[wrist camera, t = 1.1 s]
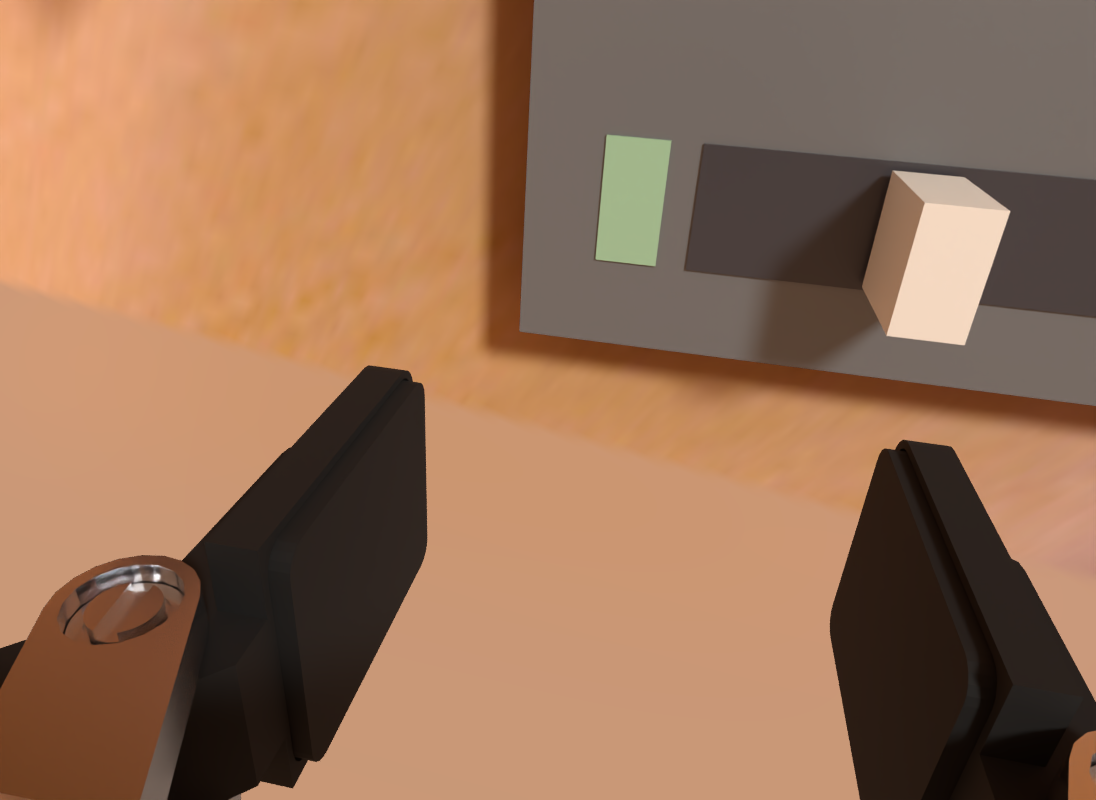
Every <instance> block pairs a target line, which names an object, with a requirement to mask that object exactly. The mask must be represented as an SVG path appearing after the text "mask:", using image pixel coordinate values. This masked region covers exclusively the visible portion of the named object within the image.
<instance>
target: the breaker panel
mask: <svg viewBox="0 0 1096 800" xmlns="http://www.w3.org/2000/svg"><path fill="white" fill-rule="evenodd" d="M892 171H904V172H915V173H925V174H936V175H947V176H957V177H965V178H966V179H968V180H969V181H970V182H972V183H973V184H974V185H976V186H977V187H978V188H980V189H981V190H982V191H984V192H985V193H987V194H988V195H989V196H991V197H992V198H993V199H995V200H996V201H997V202H999V203H1000V204H1001V205H1003V206H1004V207H1005V208H1007V209H1008V210H1010V214H1009V217H1008V220H1007V223H1006V226H1005V229H1004V231H1003V234H1002V237H1001V240H1000V243H999V246H998V249H997V252H996V255H995V258H994V261H993V264H992V267H991V270H990V272H989V275H988V278H987V281H986V284H985V287H984V290H983V293H982V296H981V299H980V302H979V305H978V308H977V310H976V313H975V316H974V319H973V322H972V325H971V328H970V331H969V334H968V337H967V340H966V343H965V345H957V344H949V343H941V342H933V341H925V340H916V339H908V338H900V337H892V336H886V334H885V332H884V330H883V328H882V326H881V324H880V322H879V320H878V318H877V316H876V314H875V312H874V310H873V308H872V306H871V304H870V302H869V300H868V298H867V296H866V294H865V292H864V290H863V288H862V285H863V281H864V277H865V273H866V269H867V266H868V262H869V258H870V254H871V250H872V247H873V243H874V239H875V235H876V231H877V228H878V224H879V220H880V216H881V212H882V209H883V205H884V201H885V197H886V193H887V190H888V186H889V182H890V178H891V174H892ZM519 332H527V333H535V334H542V335H550V336H558V337H566V338H573V339H581V340H589V341H597V342H604V343H612V344H620V345H628V346H635V347H643V348H651V349H658V350H666V351H674V352H682V353H689V354H697V355H705V356H713V357H720V358H728V359H736V360H744V361H751V362H759V363H767V364H775V365H782V366H790V367H798V368H806V369H813V370H821V371H829V372H836V373H844V374H852V375H860V376H867V377H875V378H883V379H891V380H898V381H906V382H914V383H922V384H929V385H937V386H945V387H953V388H960V389H968V390H976V391H984V392H991V393H999V394H1007V395H1014V396H1022V397H1030V398H1038V399H1045V400H1053V401H1061V402H1069V403H1076V404H1084V405H1092V406H1096V0H534V13H533V36H532V59H531V81H530V104H529V126H528V149H527V172H526V194H525V217H524V239H523V262H522V285H521V307H520V330H519Z"/></svg>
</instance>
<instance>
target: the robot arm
mask: <svg viewBox="0 0 1096 800" xmlns="http://www.w3.org/2000/svg"><path fill="white" fill-rule="evenodd" d="M426 546H427V499H426V447H425V395H424V388H423V385H422V384H421V383H417V382H413V380H412V376H411V374H410V372H409V371H405V370H398V369H391V368H384V367H377V366H369V365H368V366H367V367H365V368H364V369H363V370H362V371H361V372H360V373H359V375H358V376H357V377H356V378H355V379H354V380H353V381H352V382H351V383H350V384H349V386H347V388H346V389H345V390H344V391H343V392H342V393H341V394H340V395H339V396H338V397H337V398H336V399H335V401H334V402H333V403H332V404H331V405H330V406H329V407H328V408H327V409H326V410H325V412H323V413H322V415H321V416H320V417H319V418H318V419H317V420H316V421H315V422H314V423H313V424H312V425H311V426H310V428H309V429H308V430H307V431H306V432H305V433H304V434H303V435H302V436H301V437H300V438H299V439H298V441H297V442H296V443H295V444H294V445H293V446H292V447H291V448H288V449H287V450H286V451H285V452H284V453H282V454H281V455H280V456H279V457H278V458H277V459H276V460H275V462H274V463H273V464H272V465H271V466H270V467H269V468H268V469H267V470H266V471H265V472H264V473H263V474H262V475H261V477H260V478H259V479H258V480H257V481H256V482H255V483H254V484H253V485H252V486H251V487H250V488H249V489H248V490H247V492H246V493H245V494H244V495H243V496H242V497H241V498H240V499H239V500H238V501H237V502H236V503H235V505H233V507H232V508H231V509H230V510H229V511H228V512H227V513H226V514H225V515H224V516H223V517H222V518H221V519H220V520H219V522H218V523H217V524H216V525H215V526H214V527H213V528H212V529H211V530H210V531H209V533H207V535H206V536H205V537H204V538H203V539H202V540H201V541H200V542H199V543H198V544H197V545H196V546H195V547H194V548H193V550H192V551H191V552H190V553H189V554H188V555H187V556H186V557H185V558H184V559H183V560H182V561H181V560H176V559H173V558H170V557H166V556H150V555H149V556H148V555H141V556H134V557H129V558H122V559H117V560H114V561H111V562H108V563H105V564H102V565H99V566H96V567H94V568H92V569H90V570H88V571H86V572H84V573H82V574H80V575H78V576H76V577H75V578H73V579H72V580H70V581H69V582H68V583H67V584H65V585H64V586H63V587H62V588H60V589H59V590H58V591H56V592H55V594H54V595H53V596H52V597H51V599H50V600H49V601H48V603H47V604H46V605H45V607H44V608H43V610H42V611H41V613H40V615H39V617H38V619H37V621H36V623H35V625H34V626H33V628H32V630H31V632H30V634H29V636H28V638H27V640H24V641H21V642H18V643H15V644H12V645H9V646H6V647H3V648H0V800H241V793H243V792H245V791H247V790H250V789H252V788H254V787H256V786H258V784H259V783H260V781H262V782H267V783H271V784H276V785H280V786H285V787H289V788H293V787H294V785H295V783H296V782H297V780H298V777H299V776H300V774H301V772H302V770H303V768H304V766H305V765H306V763H307V761H308V760H310V761H315V762H317V761H320V760H321V759H322V757H323V756H324V754H325V753H326V751H327V750H328V748H329V745H330V744H331V742H332V740H333V738H334V736H335V734H336V732H337V730H338V728H339V726H340V724H341V722H342V720H343V718H344V716H345V714H346V712H347V710H348V708H349V706H350V704H351V702H352V700H353V698H354V696H355V694H356V692H357V691H358V688H359V686H360V685H361V682H362V680H363V679H364V677H365V675H366V673H367V671H368V669H369V667H370V665H371V663H372V661H373V659H374V657H375V655H376V653H377V651H378V649H379V647H380V645H381V643H382V641H383V639H384V637H385V635H386V633H387V632H388V630H389V628H390V626H391V624H392V621H393V620H394V618H395V616H396V613H397V612H398V610H399V608H400V606H401V604H402V602H403V600H404V598H405V596H406V594H407V592H408V590H409V588H410V586H411V584H412V582H413V580H414V578H415V576H416V574H417V573H418V570H419V569H420V567H421V564H422V562H423V559H424V556H425V552H426ZM830 636H831V642H832V648H833V653H834V658H835V664H836V669H837V675H838V680H839V686H840V691H841V697H842V703H843V708H844V714H845V718H846V724H847V730H848V735H849V740H850V746H851V752H852V757H853V763H854V768H855V774H856V779H857V784H858V790H859V796H860V800H1096V702H1095V700H1094V698H1093V696H1092V694H1091V692H1090V691H1089V689H1088V687H1087V685H1086V683H1085V681H1084V679H1083V678H1082V676H1081V674H1080V672H1079V670H1078V668H1077V666H1076V665H1075V663H1074V661H1073V659H1072V657H1071V655H1070V653H1069V652H1068V650H1067V648H1066V646H1065V644H1064V642H1063V640H1062V639H1061V637H1060V635H1059V633H1058V631H1057V629H1056V627H1055V626H1054V624H1053V622H1052V620H1051V618H1050V616H1049V614H1048V613H1047V611H1046V609H1045V607H1044V605H1043V603H1042V601H1041V600H1040V598H1039V596H1038V594H1037V592H1036V590H1035V588H1034V587H1033V585H1032V583H1031V581H1030V579H1029V577H1028V575H1027V573H1026V572H1025V570H1024V569H1023V568H1022V566H1021V565H1020V564H1019V562H1017V561H1015V560H1013V559H1011V557H1010V556H1009V554H1008V552H1007V550H1006V548H1005V546H1004V544H1003V542H1002V540H1001V538H1000V536H999V535H998V533H997V531H996V529H995V527H994V525H993V523H992V521H991V519H990V517H989V516H988V514H987V512H986V510H985V508H984V506H983V504H982V502H981V500H980V498H979V497H978V495H977V493H976V491H975V489H974V487H973V485H972V483H971V481H970V479H969V477H968V476H967V474H966V472H965V470H964V468H963V466H962V464H961V462H960V460H959V458H958V457H957V455H956V453H955V451H954V450H953V448H952V447H950V446H944V445H936V444H929V443H922V442H915V441H908V440H902V441H901V442H899V444H898V446H897V447H896V449H895V450H892V449H883V450H882V451H881V453H880V455H879V457H878V460H877V463H876V467H875V470H874V473H873V476H872V480H871V483H870V486H869V489H868V492H867V496H866V499H865V502H864V505H863V509H862V512H861V515H860V518H859V522H858V525H857V528H856V531H855V535H854V538H853V541H852V545H851V548H850V551H849V554H848V558H847V561H846V564H845V568H844V571H843V574H842V577H841V580H840V583H839V587H838V590H837V593H836V596H835V600H834V603H833V607H832V611H831V617H830Z"/></svg>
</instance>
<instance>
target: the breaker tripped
mask: <svg viewBox="0 0 1096 800" xmlns="http://www.w3.org/2000/svg"><path fill="white" fill-rule="evenodd" d="M1009 214H1010V210H1008V209H1007V208H1005V207H1004V206H1003V205H1001V204H1000V203H999V202H997V201H996V200H995V199H993V198H992V197H991V196H989V195H988V194H987V193H985V192H984V191H982V190H981V189H980V188H978V187H977V186H976V185H974V184H973V183H972V182H970V181H969V180H968V179H966V178H965V177H957V176H947V175H936V174H925V173H915V172H904V171H892V174H891V178H890V182H889V186H888V190H887V193H886V197H885V201H884V205H883V209H882V212H881V216H880V220H879V224H878V228H877V231H876V235H875V239H874V243H873V247H872V250H871V254H870V258H869V262H868V266H867V269H866V273H865V277H864V281H863V285H862V288H863V290H864V292H865V294H866V296H867V298H868V300H869V302H870V304H871V306H872V308H873V310H874V312H875V314H876V316H877V318H878V320H879V322H880V324H881V326H882V328H883V330H884V332H885V334H886V336H892V337H900V338H908V339H916V340H925V341H933V342H941V343H949V344H957V345H965V343H966V340H967V337H968V334H969V331H970V328H971V325H972V322H973V319H974V316H975V313H976V310H977V308H978V305H979V302H980V299H981V296H982V293H983V290H984V287H985V284H986V281H987V278H988V275H989V272H990V270H991V267H992V264H993V261H994V258H995V255H996V252H997V249H998V246H999V243H1000V240H1001V237H1002V234H1003V231H1004V229H1005V226H1006V223H1007V220H1008V217H1009Z"/></svg>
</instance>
